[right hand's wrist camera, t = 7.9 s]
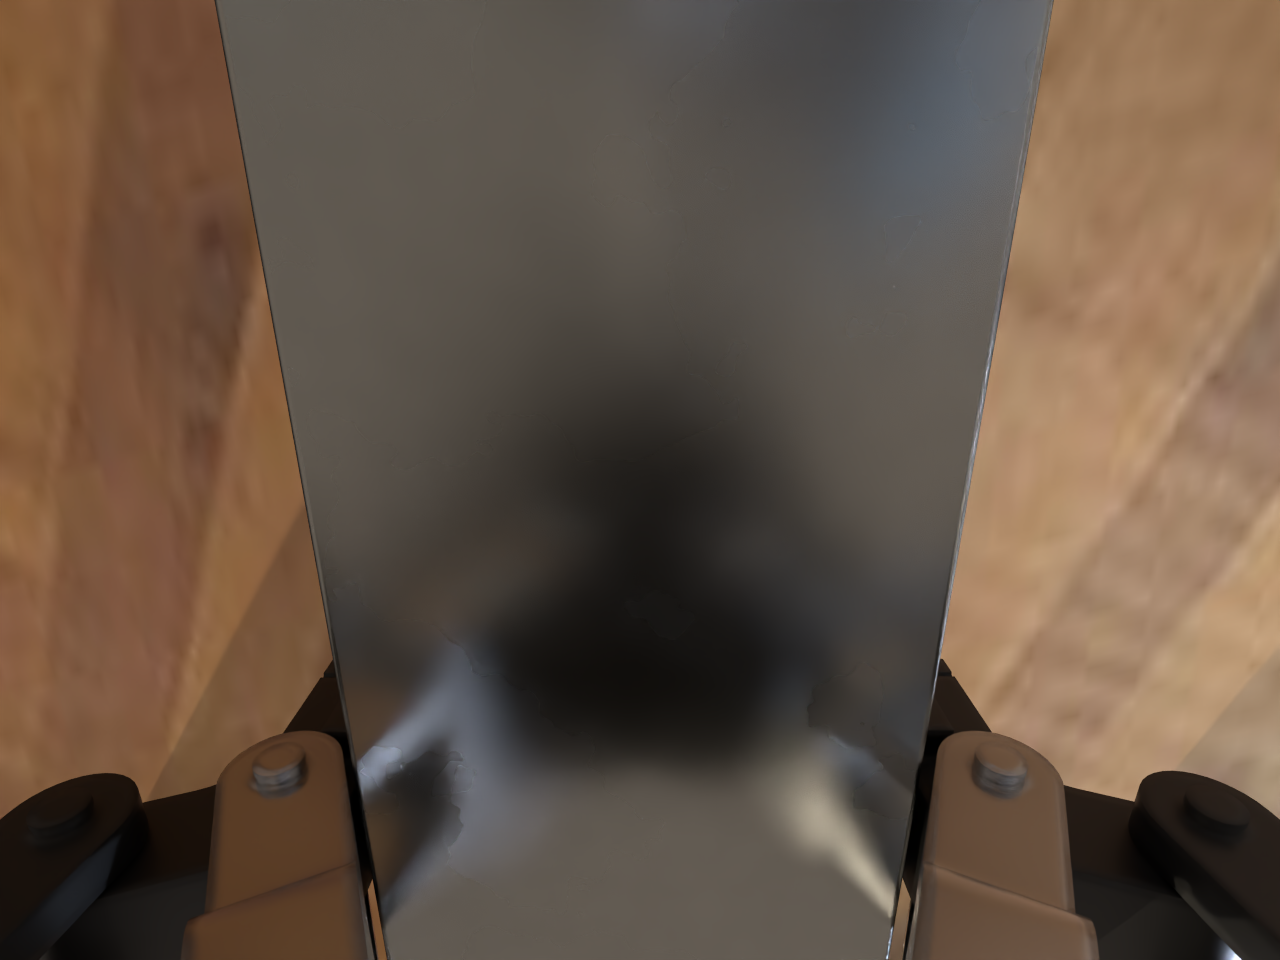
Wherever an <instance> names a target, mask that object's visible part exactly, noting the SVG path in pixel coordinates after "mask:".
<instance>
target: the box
mask: <svg viewBox="0 0 1280 960" xmlns="http://www.w3.org/2000/svg"><path fill="white" fill-rule="evenodd" d="M1053 2H1054V0H215V5H216V11H217V16H218V22H219V27H220V33H221V38H222V44H223V50H224V55H225V61H226V66H227V72H228V77H229V83H230V88H231V94H232V100H233V105H234V111H235V116H236V122H237V127H238V133H239V139H240V144H241V150H242V155H243V161H244V166H245V172H246V177H247V183H248V189H249V194H250V200H251V205H252V211H253V216H254V222H255V227H256V233H257V239H258V244H259V250H260V255H261V261H262V266H263V272H264V278H265V283H266V289H267V294H268V300H269V305H270V311H271V316H272V322H273V328H274V333H275V339H276V344H277V350H278V355H279V361H280V366H281V372H282V378H283V383H284V389H285V394H286V400H287V405H288V411H289V416H290V422H291V428H292V433H293V439H294V444H295V450H296V455H297V461H298V467H299V472H300V478H301V483H302V489H303V494H304V500H305V505H306V511H307V517H308V522H309V528H310V533H311V539H312V544H313V550H314V555H315V561H316V567H317V572H318V578H319V583H320V589H321V594H322V600H323V606H324V611H325V617H326V622H327V628H328V633H329V639H330V644H331V650H332V656H333V661H334V667H335V672H336V678H337V683H338V689H339V694H340V700H341V706H342V711H343V717H344V722H345V728H346V733H347V739H348V744H349V750H350V756H351V761H352V767H353V772H354V778H355V783H356V789H357V795H358V800H359V806H360V811H361V817H362V822H363V828H364V833H365V839H366V845H367V850H368V856H369V861H370V867H371V872H372V878H373V883H374V889H375V895H376V900H377V906H378V911H379V917H380V922H381V928H382V934H383V939H384V945H385V950H386V956H387V960H888V958H889V952H890V946H891V940H892V934H893V929H894V923H895V917H896V911H897V905H898V900H899V894H900V888H901V882H902V876H903V871H904V865H905V859H906V853H907V848H908V842H909V836H910V830H911V824H912V819H913V813H914V807H915V801H916V795H917V790H918V784H919V778H920V772H921V766H922V761H923V755H924V749H925V743H926V737H927V732H928V726H929V720H930V714H931V708H932V703H933V697H934V691H935V685H936V680H937V674H938V668H939V662H940V656H941V651H942V645H943V639H944V633H945V627H946V622H947V616H948V610H949V604H950V598H951V593H952V587H953V581H954V575H955V569H956V564H957V558H958V552H959V546H960V540H961V535H962V529H963V523H964V517H965V512H966V506H967V500H968V494H969V488H970V483H971V477H972V471H973V465H974V459H975V454H976V448H977V442H978V436H979V430H980V425H981V419H982V413H983V407H984V401H985V396H986V390H987V384H988V378H989V372H990V367H991V361H992V355H993V349H994V344H995V338H996V332H997V326H998V320H999V315H1000V309H1001V303H1002V297H1003V291H1004V286H1005V280H1006V274H1007V268H1008V262H1009V257H1010V251H1011V245H1012V239H1013V233H1014V228H1015V222H1016V216H1017V210H1018V204H1019V199H1020V193H1021V187H1022V181H1023V175H1024V170H1025V164H1026V158H1027V152H1028V147H1029V141H1030V135H1031V129H1032V123H1033V118H1034V112H1035V106H1036V100H1037V94H1038V89H1039V83H1040V77H1041V71H1042V65H1043V60H1044V54H1045V48H1046V42H1047V36H1048V31H1049V25H1050V19H1051V13H1052V7H1053Z"/></svg>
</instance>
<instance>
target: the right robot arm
mask: <svg viewBox="0 0 1280 960" xmlns="http://www.w3.org/2000/svg"><path fill="white" fill-rule="evenodd" d="M902 877H903V880H904V882H905V885H906V888H907V890H908V893H909V895H910V898H911V900H910V906H909V911H908V917H907V924H906V931H905V938H904V945H903V952H902V958H901V960H1280V819H1278V818H1277V817H1276V816H1275V815H1273V814H1272V813H1271V812H1270V811H1269V810H1267V809H1266V808H1265V807H1263V806H1262V805H1261V804H1259V803H1258V802H1257V801H1255V800H1254V799H1252V798H1250V797H1249V796H1247V795H1246V794H1244V793H1242V792H1240V791H1238V790H1236V789H1234V788H1233V787H1230V786H1228V785H1226V784H1224V783H1221V782H1219V781H1216V780H1213V779H1210V778H1208V777H1204V776H1201V775H1197V774H1193V773H1187V772H1180V771H1161V772H1156V773H1153V774H1151V775H1148V776H1147V777H1146V778H1144V779H1143V780H1142V782H1141V784H1140V786H1139V789H1138V792H1137V796H1136V799H1135V802H1133V801H1129V800H1124V799H1120V798H1115V797H1111V796H1107V795H1102V794H1098V793H1094V792H1089V791H1085V790H1080V789H1076V788H1073V787H1069V786H1065V785H1063V781H1062V779H1061V777H1060V775H1059V773H1058V772H1057V770H1056V769H1055V768H1054V766H1053V765H1052V764H1051V763H1050V762H1049V761H1048V760H1047V759H1046V758H1044V757H1043V756H1042V755H1041V754H1040V753H1038V752H1037V751H1035V750H1034V749H1032V748H1031V747H1029V746H1027V745H1025V744H1023V743H1021V742H1019V741H1017V740H1015V739H1012V738H1010V737H1007V736H1003V735H1000V734H996V733H992V732H991V730H990V729H989V727H988V726H987V724H986V723H985V721H984V720H983V718H982V717H981V715H980V714H979V712H978V711H977V709H976V708H975V706H974V705H973V703H972V702H971V700H970V699H969V698H968V696H967V695H966V693H965V692H964V690H963V689H962V687H961V686H960V684H959V683H958V681H957V680H956V678H955V677H952V675H951V671H950V669H949V668H948V666H947V665H946V663H945V662H944V660H943V659H940V662H939V668H938V674H937V680H936V685H935V691H934V697H933V703H932V708H931V714H930V720H929V726H928V732H927V737H926V743H925V749H924V755H923V761H922V766H921V772H920V778H919V784H918V790H917V795H916V801H915V807H914V813H913V819H912V824H911V830H910V836H909V842H908V848H907V853H906V859H905V865H904V871H903V876H902ZM371 881H372V872H371V867H370V861H369V856H368V850H367V845H366V839H365V833H364V828H363V822H362V817H361V811H360V806H359V800H358V795H357V789H356V783H355V778H354V772H353V767H352V761H351V756H350V750H349V744H348V739H347V733H346V728H345V722H344V717H343V711H342V706H341V700H340V694H339V689H338V683H337V678H336V672H335V667H334V661H333V660H332V662H331V663H330V665H329V666H328V668H327V669H326V671H325V672H324V677H323V678H320V680H319V681H318V683H317V684H316V686H315V687H314V688H313V690H312V691H311V693H310V694H309V696H308V697H307V699H306V700H305V702H304V703H303V705H302V706H301V708H300V709H299V711H298V712H297V714H296V715H295V717H294V718H293V719H292V721H291V722H290V724H289V725H288V727H287V728H286V730H285V731H284V733H283V734H280V735H277V736H273V737H270V738H268V739H265V740H263V741H261V742H259V743H257V744H255V745H253V746H251V747H249V748H248V749H246V750H245V751H243V752H242V753H240V754H239V755H238V756H237V757H236V758H234V759H233V760H232V761H231V762H230V763H229V764H228V765H227V766H226V768H225V769H224V770H223V772H222V773H221V775H220V777H219V779H218V781H217V784H216V785H214V786H211V787H208V788H204V789H200V790H197V791H192V792H188V793H183V794H179V795H175V796H170V797H166V798H162V799H157V800H153V801H148V802H144V803H142V800H141V797H140V794H139V790H138V787H137V786H136V784H135V782H134V781H133V780H131V779H130V778H128V777H126V776H124V775H120V774H114V773H101V774H92V775H86V776H82V777H78V778H74V779H71V780H68V781H65V782H62V783H59V784H57V785H55V786H52V787H50V788H48V789H45V790H43V791H42V792H40V793H38V794H36V795H34V796H32V797H31V798H29V799H27V800H26V801H24V802H23V803H21V804H20V805H18V806H17V807H16V808H14V809H13V810H12V811H10V812H9V813H8V814H6V815H5V816H4V817H3V818H2V819H0V960H379V958H378V952H377V945H376V938H375V931H374V924H373V917H372V911H371V906H370V900H369V895H368V888H369V886H370V883H371Z"/></svg>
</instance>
